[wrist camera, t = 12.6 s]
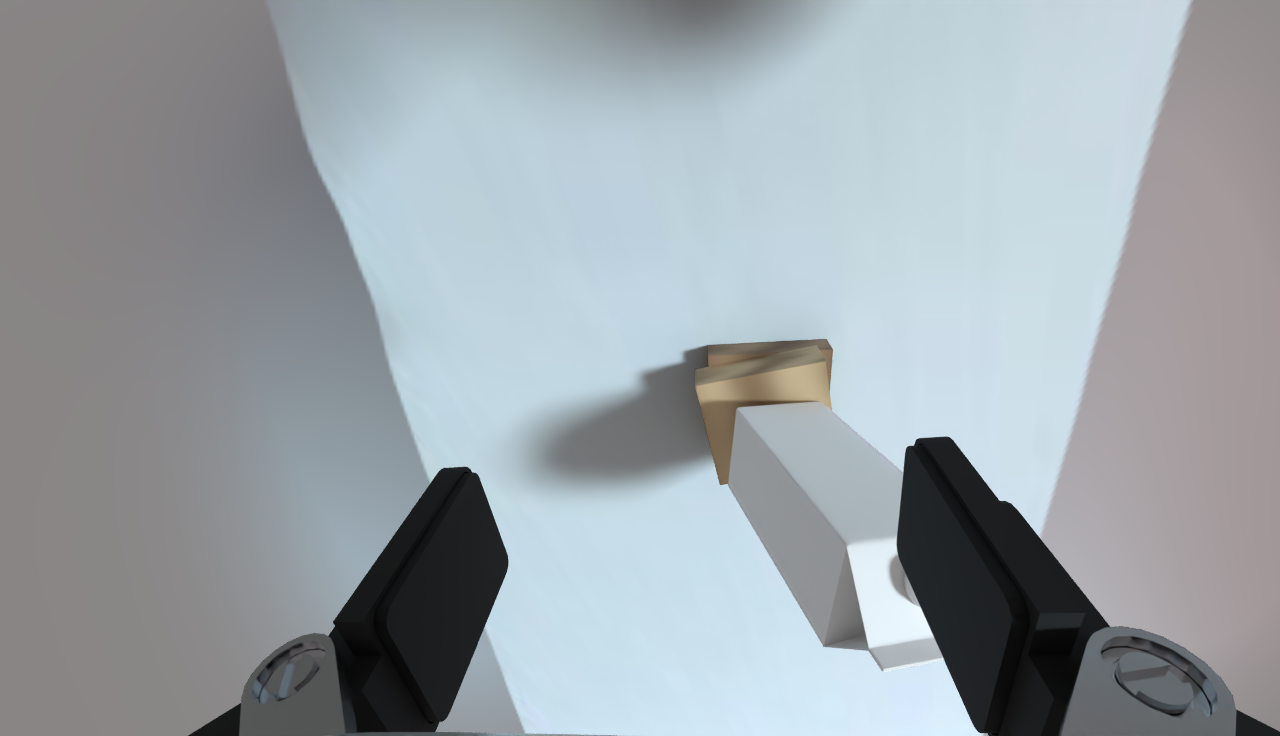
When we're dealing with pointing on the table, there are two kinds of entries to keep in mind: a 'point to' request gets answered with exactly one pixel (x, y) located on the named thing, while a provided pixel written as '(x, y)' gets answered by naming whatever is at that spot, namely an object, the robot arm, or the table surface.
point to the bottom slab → (765, 351)
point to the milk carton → (831, 528)
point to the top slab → (756, 392)
